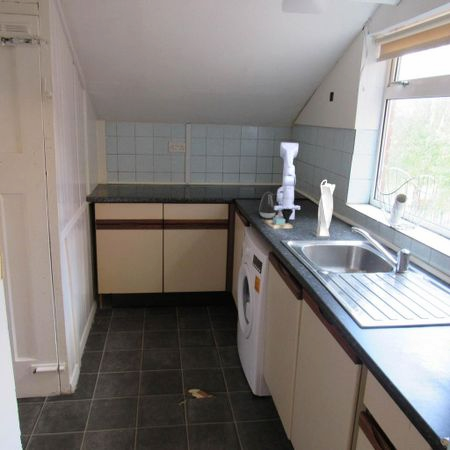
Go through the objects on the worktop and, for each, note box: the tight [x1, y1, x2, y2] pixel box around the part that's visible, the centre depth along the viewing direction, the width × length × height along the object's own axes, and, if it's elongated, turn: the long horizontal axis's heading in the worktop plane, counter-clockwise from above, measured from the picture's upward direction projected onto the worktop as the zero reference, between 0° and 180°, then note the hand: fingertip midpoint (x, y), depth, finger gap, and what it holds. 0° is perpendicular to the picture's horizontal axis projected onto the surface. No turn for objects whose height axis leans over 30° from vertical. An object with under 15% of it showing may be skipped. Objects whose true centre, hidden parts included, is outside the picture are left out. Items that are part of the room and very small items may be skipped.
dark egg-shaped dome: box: [258, 191, 278, 219], centre depth 255 cm, size 10×10×15 cm
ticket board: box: [264, 214, 293, 230], centre depth 238 cm, size 11×13×5 cm
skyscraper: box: [312, 179, 336, 239], centre depth 218 cm, size 8×8×28 cm
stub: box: [272, 216, 285, 225], centre depth 235 cm, size 5×5×3 cm
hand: (285, 222), depth 236 cm, fingers closed
